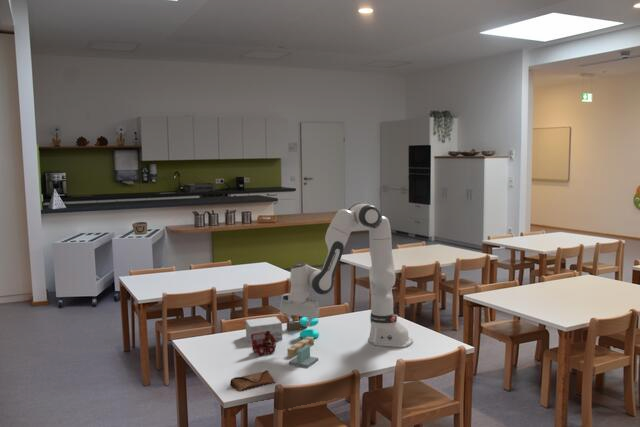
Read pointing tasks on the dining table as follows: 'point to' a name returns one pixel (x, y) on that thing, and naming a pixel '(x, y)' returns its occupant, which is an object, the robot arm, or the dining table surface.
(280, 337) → the supplement box
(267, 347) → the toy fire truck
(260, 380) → the sunglasses case
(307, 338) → the oak bar
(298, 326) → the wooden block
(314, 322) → the donuts
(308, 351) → the fulcrum
